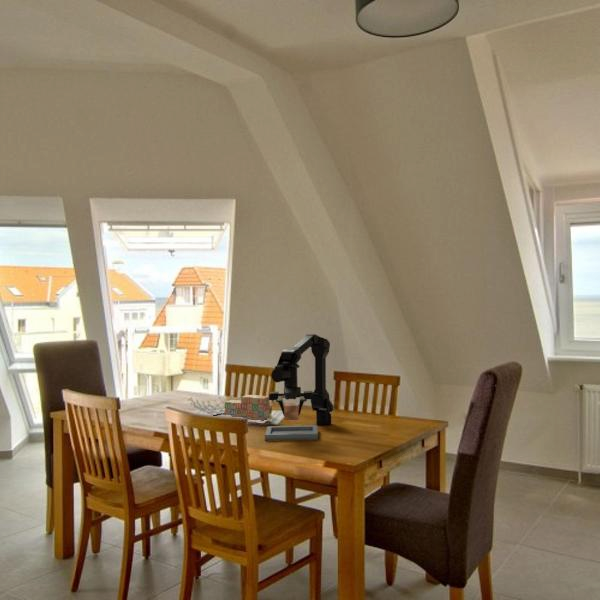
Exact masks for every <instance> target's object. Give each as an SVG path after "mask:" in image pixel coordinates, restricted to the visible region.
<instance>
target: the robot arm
mask: <svg viewBox="0 0 600 600" xmlns="http://www.w3.org/2000/svg"><path fill="white" fill-rule="evenodd" d="M330 347H331V343H330V340H329V339H328V338H324V337H321V336H320V335H317V334H315V333H307V334H305V335H304V337H303V338H302V339H301V340H299V341H298V342H297V343H295V345H293V346H291V347H287V348H285V349H283V350H282V351H281V353H280V355H279V359H278V361H277V364H276V365H274V369H273V370H272V372H271V374H270V376H271V379H272V381H273V382H274V383H281V382H283V393H279V391H270V392H269V394H268V396H269V401H275V403H278V405H279V406H280V410H281V413H282V415H283V416H284V404H285V403H284V399H285V400H286V401H287V400H288V401H289V400H297V398H299V402H298V405H299V416H300V415H301V411H302V408H303V406H304V404H305V402H307V401H308V400H310V404H311V409H312V411H313V412H314V411H315V414H316V415H315V417H316V418H315V420H316V421H315V424H316V425H317V426H330V425H331V423H332V413H331V412H333V411H334V408H335V405H334V404H333V403H332V401H331V400H330V394H329V392H328V390H327V379H326V378H327V375H326V374H327V373H326V372H327V371H326V368H327V365H326V363H327V361H326V358H327V356H328V355H329V353H330ZM309 348H310V349H311V353H312V355H313V357H314V390H313V391H312V390H304V391H303V392H302V388H301V386H298V369H299V368H300V365H299V364H298V363H299V361H300V360H301V359H302V355H303V354H304V353H305V352H306V351H307V350H308V349H309ZM283 398H284V399H283Z"/></svg>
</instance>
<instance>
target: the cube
mask: <svg viewBox="0 0 600 600" xmlns="http://www.w3.org/2000/svg"><path fill="white" fill-rule="evenodd" d="M283 417H284V421H299V417H300V415H299V402H291V403H289V402H287V403H284V415H283Z"/></svg>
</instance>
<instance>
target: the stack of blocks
mask: <svg viewBox="0 0 600 600" xmlns="http://www.w3.org/2000/svg"><path fill="white" fill-rule="evenodd" d="M224 407H225V413H224V414H225V415H231V416H232V417H243V418H247V419H251V420H261V421H264V420H267V419H268V418H269V417H270V400H269V395H260V394H246V395H243V396H241V397H240V399H239V400H238V399H237V400H235V399H230V400H227V401H224Z"/></svg>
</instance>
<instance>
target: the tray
mask: <svg viewBox="0 0 600 600" xmlns="http://www.w3.org/2000/svg"><path fill="white" fill-rule="evenodd" d="M265 440H292V441H318V440H319V431H318V425H315V424H314V425H313V424H312V425H278V426H277V425H273V426H272V425H270V426H266V430H265V433H264V441H265Z"/></svg>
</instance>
